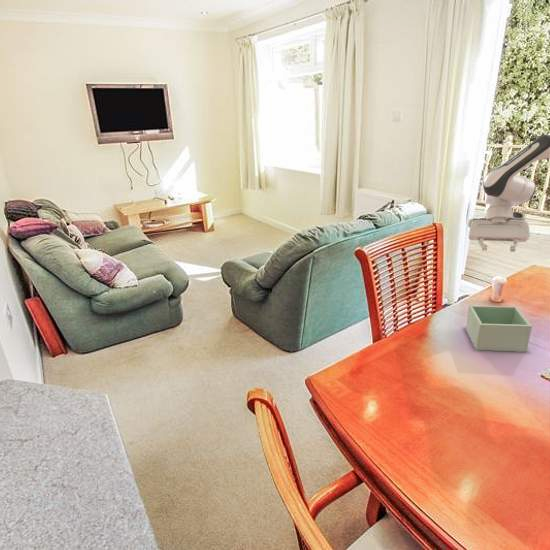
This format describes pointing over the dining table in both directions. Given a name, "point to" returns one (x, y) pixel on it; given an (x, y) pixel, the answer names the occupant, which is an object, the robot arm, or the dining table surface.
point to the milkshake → (498, 288)
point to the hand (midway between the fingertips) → (498, 250)
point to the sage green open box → (498, 328)
